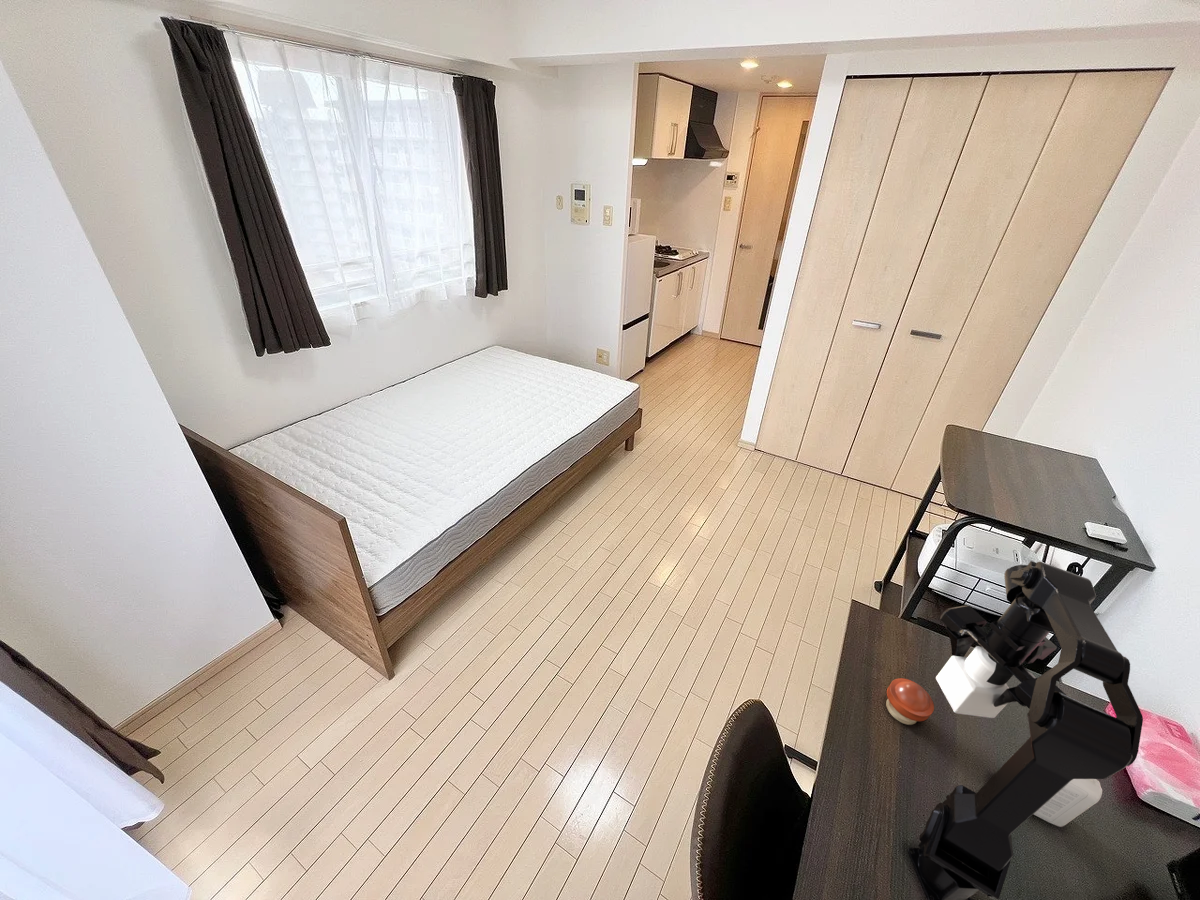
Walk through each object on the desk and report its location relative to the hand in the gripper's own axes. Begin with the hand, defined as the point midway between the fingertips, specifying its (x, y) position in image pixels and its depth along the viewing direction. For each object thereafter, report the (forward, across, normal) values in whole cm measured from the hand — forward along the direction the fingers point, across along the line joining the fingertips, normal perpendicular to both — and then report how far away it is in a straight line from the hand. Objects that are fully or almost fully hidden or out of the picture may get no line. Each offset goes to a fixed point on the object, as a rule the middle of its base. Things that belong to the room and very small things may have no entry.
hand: (975, 683), depth 87 cm
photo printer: (+13, -14, -3) cm, 20 cm away
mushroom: (+13, +4, +6) cm, 15 cm away
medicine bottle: (+5, 0, 0) cm, 5 cm away
